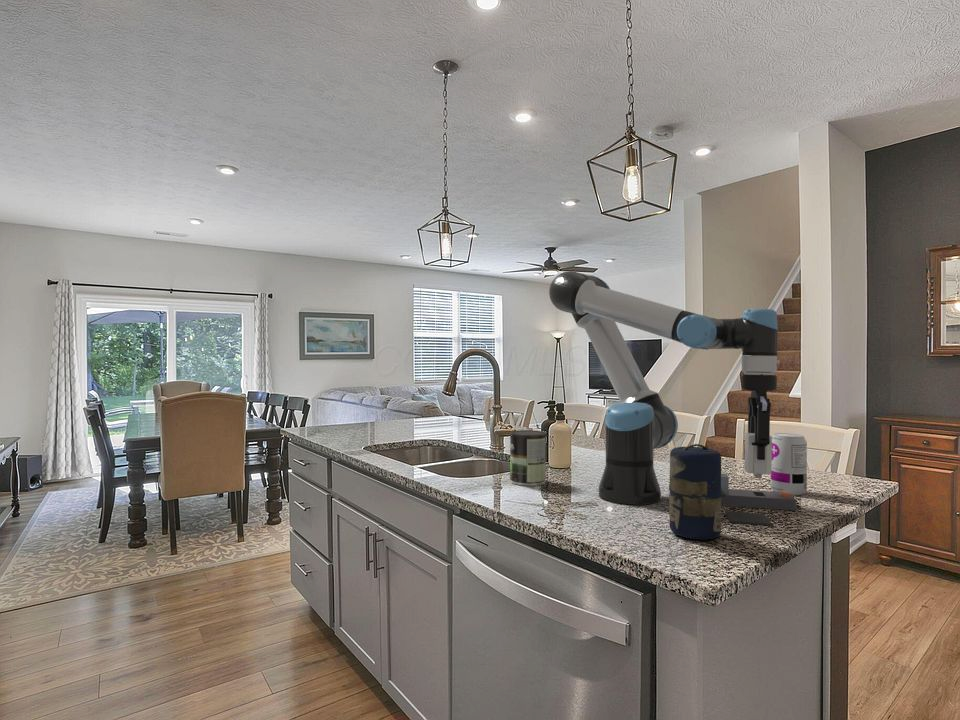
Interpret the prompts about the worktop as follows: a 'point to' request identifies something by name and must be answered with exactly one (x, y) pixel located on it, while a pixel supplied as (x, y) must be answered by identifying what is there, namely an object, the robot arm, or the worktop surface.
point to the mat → (747, 518)
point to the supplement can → (789, 463)
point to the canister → (695, 492)
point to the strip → (755, 497)
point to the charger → (750, 452)
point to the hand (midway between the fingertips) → (757, 470)
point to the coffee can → (527, 457)
